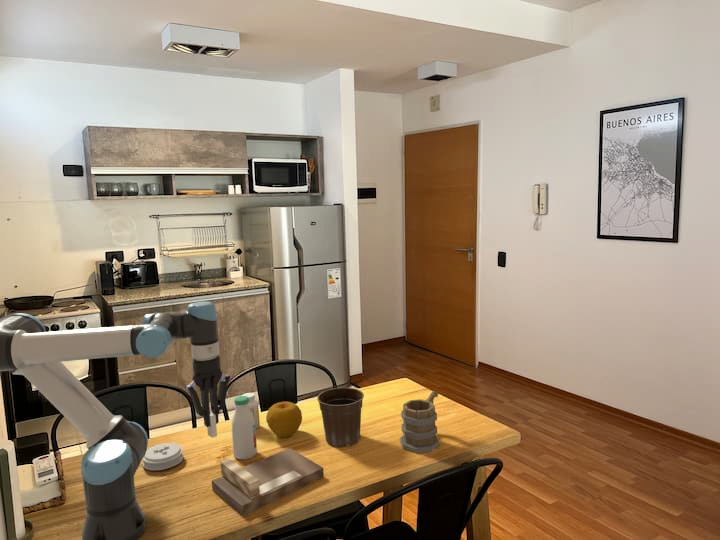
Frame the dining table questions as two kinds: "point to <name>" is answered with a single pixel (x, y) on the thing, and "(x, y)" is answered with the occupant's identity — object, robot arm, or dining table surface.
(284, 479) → the stool seat
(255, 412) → the supplement bottle
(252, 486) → the folding leg
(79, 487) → the dining table surface
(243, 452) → the milk bottle
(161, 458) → the lid
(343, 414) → the plant pot
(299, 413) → the apple
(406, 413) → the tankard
